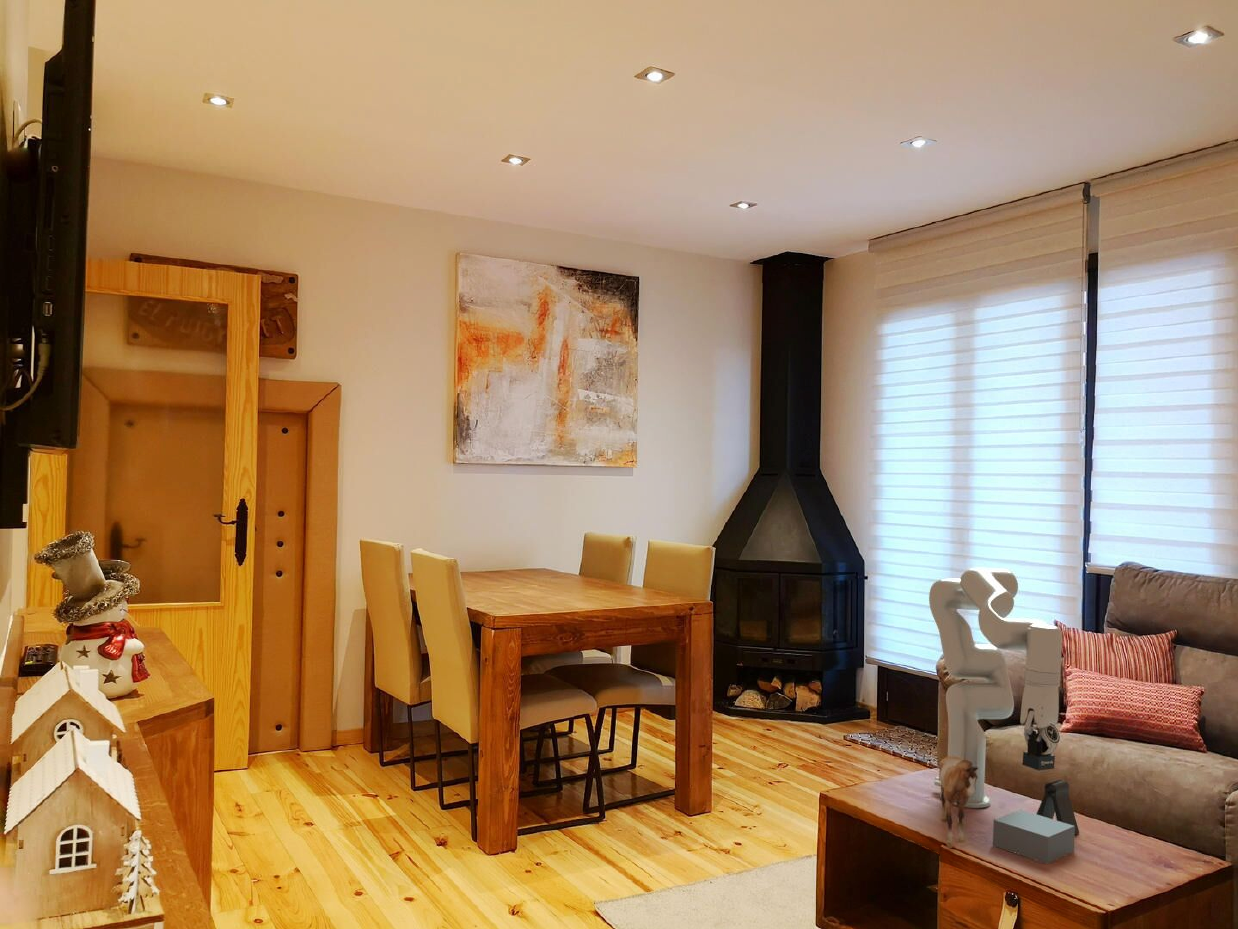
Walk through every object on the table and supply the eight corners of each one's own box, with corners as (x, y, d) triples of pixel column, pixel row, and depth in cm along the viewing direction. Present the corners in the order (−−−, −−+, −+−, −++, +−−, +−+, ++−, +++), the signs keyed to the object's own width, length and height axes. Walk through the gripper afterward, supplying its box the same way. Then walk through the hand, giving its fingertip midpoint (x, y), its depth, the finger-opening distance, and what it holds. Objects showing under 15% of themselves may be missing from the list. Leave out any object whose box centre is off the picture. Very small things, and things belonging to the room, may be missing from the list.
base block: (992, 845, 221) (993, 819, 222) (1019, 834, 230) (1020, 809, 230) (1047, 864, 211) (1048, 837, 212) (1073, 852, 220) (1074, 826, 220)
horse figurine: (975, 858, 213) (978, 766, 214) (939, 852, 215) (942, 762, 216) (968, 815, 243) (971, 734, 243) (936, 810, 245) (939, 730, 246)
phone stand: (1079, 834, 232) (1081, 785, 233) (1066, 838, 229) (1068, 788, 229) (1044, 822, 240) (1046, 775, 240) (1031, 826, 236) (1033, 778, 236)
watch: (1045, 773, 216) (1049, 725, 216) (1016, 762, 223) (1019, 716, 224) (1061, 771, 219) (1065, 724, 219) (1031, 761, 226) (1035, 715, 226)
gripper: (1043, 671, 230) (1039, 746, 229) (1009, 678, 219) (1006, 757, 219) (1074, 677, 224) (1071, 754, 224) (1041, 684, 213) (1038, 766, 213)
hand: (1039, 755), depth 221 cm, fingers closed on watch, 3 cm apart
